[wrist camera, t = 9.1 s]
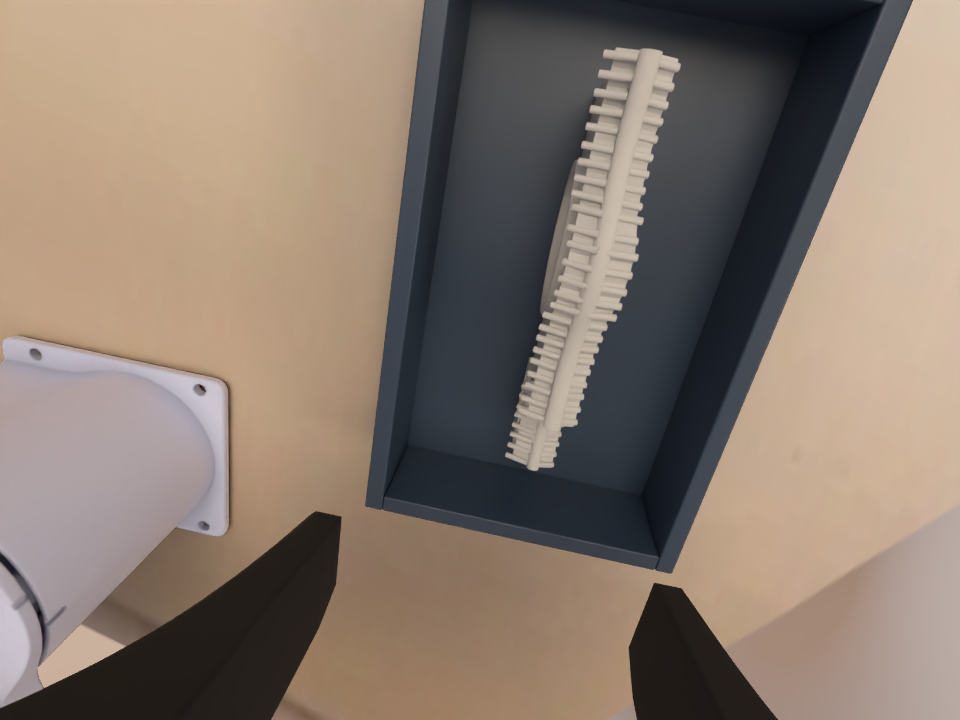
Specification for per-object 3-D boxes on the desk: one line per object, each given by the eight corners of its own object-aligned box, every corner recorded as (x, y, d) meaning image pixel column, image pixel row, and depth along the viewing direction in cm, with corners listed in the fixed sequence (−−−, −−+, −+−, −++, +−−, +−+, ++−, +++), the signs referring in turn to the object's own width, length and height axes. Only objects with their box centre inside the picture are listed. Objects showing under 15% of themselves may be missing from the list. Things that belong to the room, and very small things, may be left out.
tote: (394, 447, 22) (364, 507, 18) (462, -47, 15) (437, -112, 12) (649, 502, 22) (671, 575, 18) (830, 20, 15) (924, -23, 11)
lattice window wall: (553, 430, 20) (557, 532, 15) (507, 420, 20) (495, 519, 15) (645, 87, 16) (702, 51, 10) (586, 75, 16) (611, 33, 10)
